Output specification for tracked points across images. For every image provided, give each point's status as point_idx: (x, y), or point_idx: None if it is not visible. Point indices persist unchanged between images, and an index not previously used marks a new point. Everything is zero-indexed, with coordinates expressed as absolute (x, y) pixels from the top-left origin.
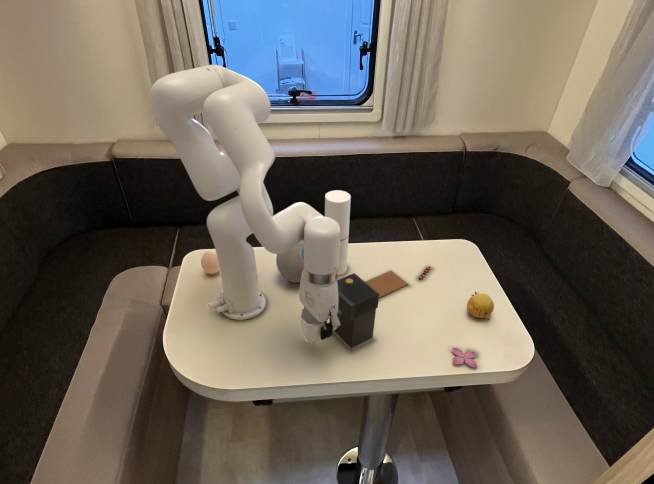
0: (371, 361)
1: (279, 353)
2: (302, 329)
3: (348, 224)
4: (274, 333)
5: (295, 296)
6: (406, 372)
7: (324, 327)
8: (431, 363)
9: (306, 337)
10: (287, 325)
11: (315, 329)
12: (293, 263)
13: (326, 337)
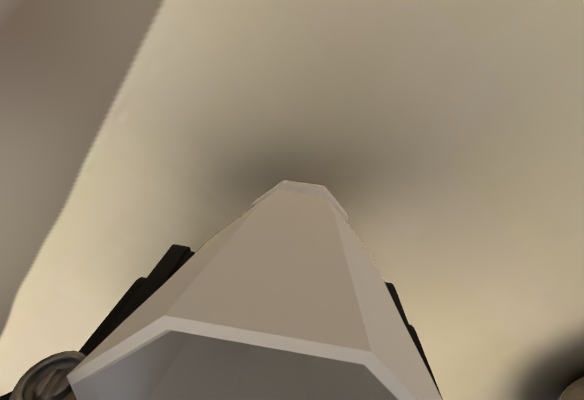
0: (105, 284)
1: (399, 40)
2: (327, 218)
3: None
4: (516, 124)
5: (553, 324)
6: (12, 317)
7: (63, 381)
8: (18, 372)
9: (291, 194)
10: (487, 203)
11: (150, 299)
12: None
13: (138, 279)
